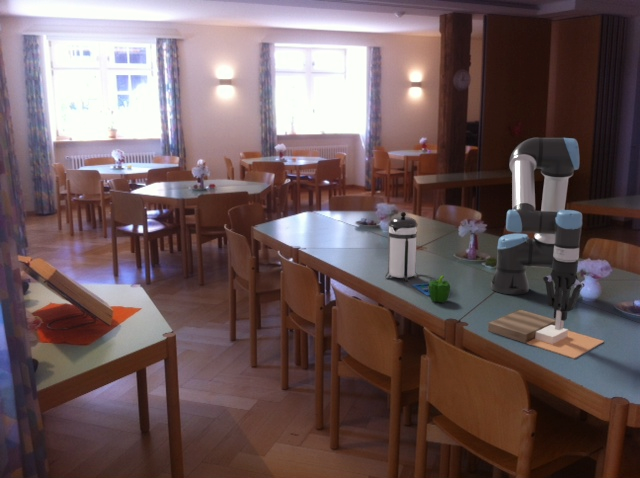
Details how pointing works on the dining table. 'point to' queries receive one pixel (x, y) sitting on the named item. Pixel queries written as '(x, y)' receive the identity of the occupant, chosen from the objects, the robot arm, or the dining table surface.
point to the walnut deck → (520, 325)
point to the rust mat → (569, 345)
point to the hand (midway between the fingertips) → (559, 328)
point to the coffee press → (402, 247)
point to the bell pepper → (439, 290)
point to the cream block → (551, 334)
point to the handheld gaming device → (423, 288)
